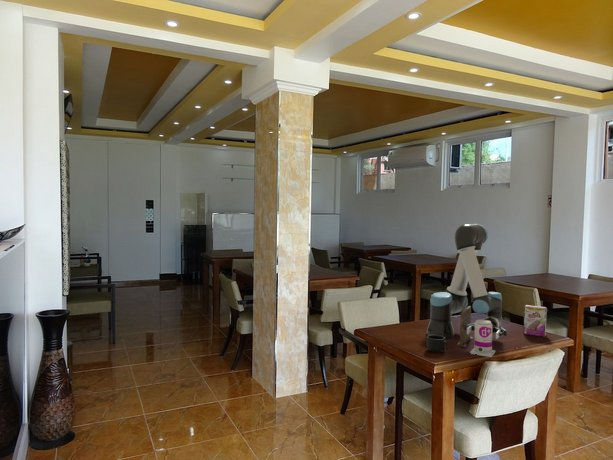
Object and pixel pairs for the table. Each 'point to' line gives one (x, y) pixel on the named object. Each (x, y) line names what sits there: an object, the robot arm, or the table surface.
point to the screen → (464, 320)
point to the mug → (436, 343)
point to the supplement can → (483, 336)
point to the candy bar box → (535, 320)
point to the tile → (483, 353)
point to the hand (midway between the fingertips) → (481, 333)
